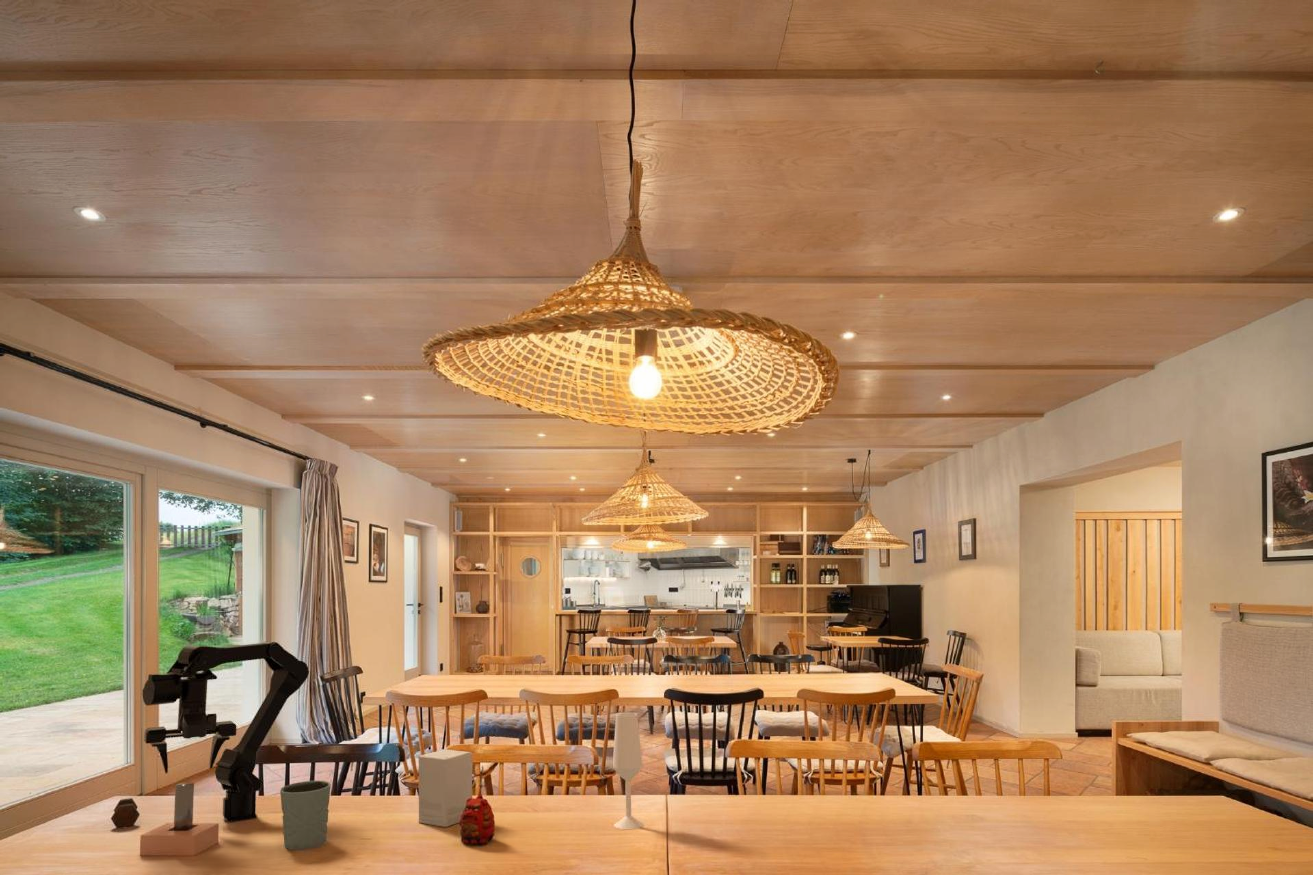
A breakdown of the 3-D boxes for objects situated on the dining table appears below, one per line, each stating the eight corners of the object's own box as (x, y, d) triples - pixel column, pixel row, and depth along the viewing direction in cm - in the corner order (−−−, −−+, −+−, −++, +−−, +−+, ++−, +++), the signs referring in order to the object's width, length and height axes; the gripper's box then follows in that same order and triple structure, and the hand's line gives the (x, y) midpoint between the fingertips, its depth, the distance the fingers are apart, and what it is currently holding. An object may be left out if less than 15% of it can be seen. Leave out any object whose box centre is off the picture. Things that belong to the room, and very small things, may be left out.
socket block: (166, 841, 207) (166, 822, 208) (218, 842, 206) (218, 823, 207) (139, 855, 199) (140, 835, 199) (193, 855, 197) (194, 835, 198)
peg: (183, 843, 206) (185, 781, 207) (195, 845, 204) (197, 782, 206) (169, 848, 203) (171, 785, 204) (181, 850, 201) (183, 787, 202)
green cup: (339, 838, 207) (340, 781, 208) (308, 853, 197) (309, 793, 199) (301, 835, 210) (302, 779, 211) (268, 849, 200) (269, 790, 202)
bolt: (128, 820, 233) (128, 833, 220) (108, 812, 231) (107, 825, 218) (143, 797, 235) (143, 808, 222) (123, 789, 233) (122, 800, 220)
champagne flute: (608, 827, 210) (606, 716, 213) (621, 819, 216) (619, 711, 219) (636, 830, 207) (634, 717, 210) (648, 821, 213) (646, 712, 216)
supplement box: (473, 818, 220) (473, 751, 222) (445, 827, 213) (446, 759, 215) (445, 813, 225) (445, 748, 227) (417, 822, 218) (417, 755, 219)
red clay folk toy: (453, 844, 200) (453, 771, 202) (471, 835, 207) (470, 764, 209) (485, 847, 198) (484, 773, 199) (501, 838, 204) (501, 766, 206)
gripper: (150, 708, 208) (145, 782, 206) (242, 701, 218) (238, 771, 216) (146, 702, 218) (141, 773, 215) (234, 696, 228) (230, 763, 225)
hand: (188, 770), depth 218 cm, fingers open, 9 cm apart
